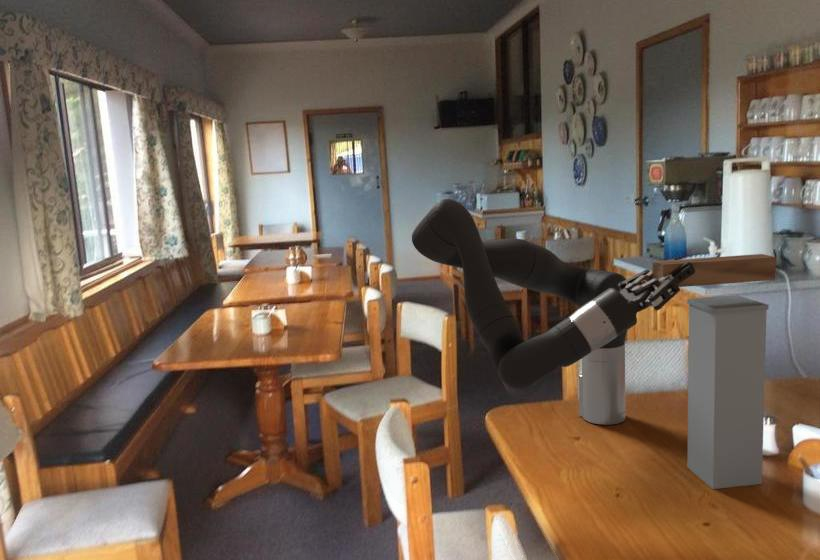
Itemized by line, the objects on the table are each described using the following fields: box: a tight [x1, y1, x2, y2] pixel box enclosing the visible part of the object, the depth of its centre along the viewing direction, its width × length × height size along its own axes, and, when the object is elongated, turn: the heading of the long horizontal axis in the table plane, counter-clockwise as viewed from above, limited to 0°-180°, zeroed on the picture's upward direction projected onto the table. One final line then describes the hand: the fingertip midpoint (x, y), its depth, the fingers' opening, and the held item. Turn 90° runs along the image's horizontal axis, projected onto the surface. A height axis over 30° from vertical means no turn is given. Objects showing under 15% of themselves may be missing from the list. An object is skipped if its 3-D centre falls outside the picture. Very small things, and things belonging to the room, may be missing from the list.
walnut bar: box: [651, 253, 777, 288], centre depth 123 cm, size 4×20×4 cm, turn 96°
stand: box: [686, 294, 769, 490], centre depth 127 cm, size 9×9×32 cm
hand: (684, 264), depth 122 cm, fingers closed on walnut bar, 4 cm apart
